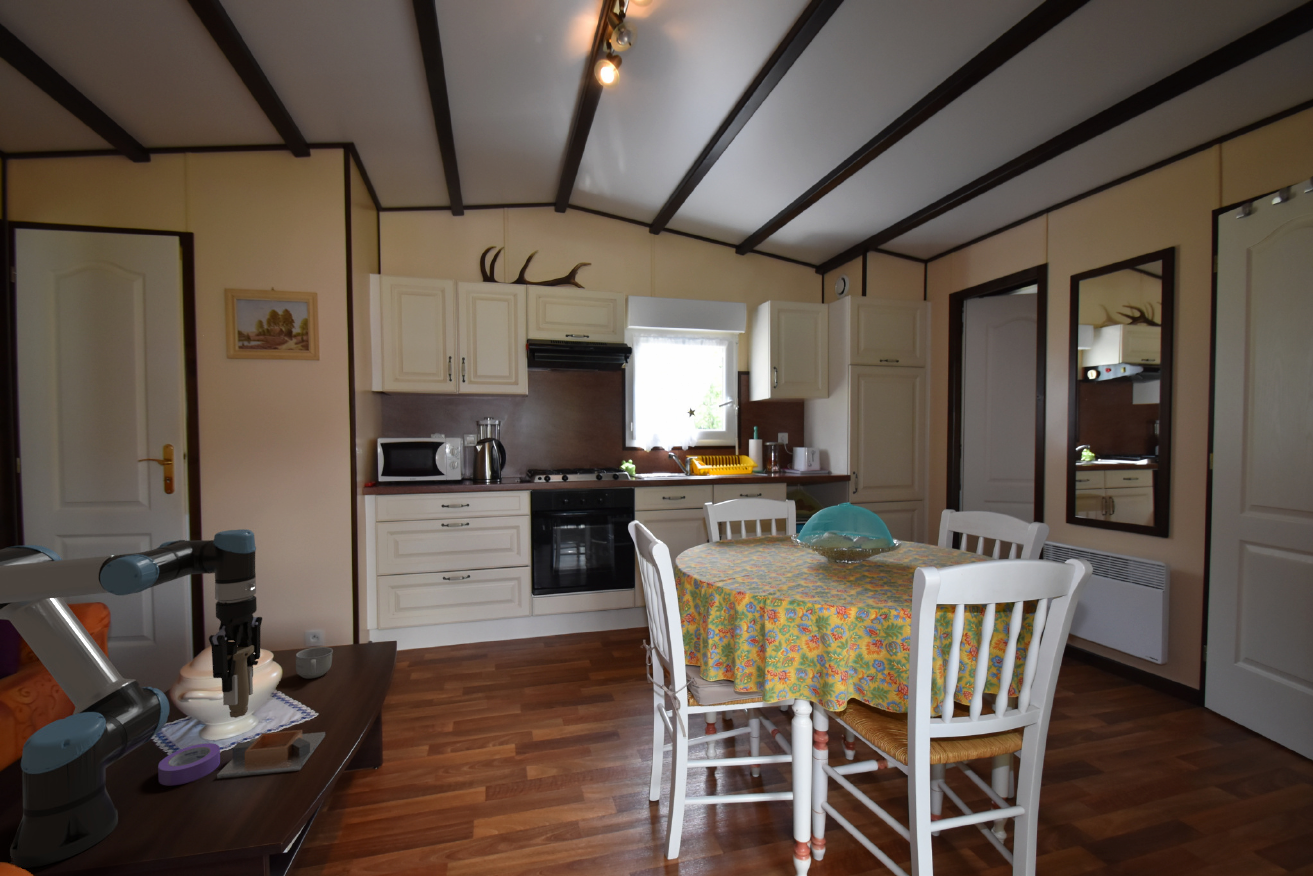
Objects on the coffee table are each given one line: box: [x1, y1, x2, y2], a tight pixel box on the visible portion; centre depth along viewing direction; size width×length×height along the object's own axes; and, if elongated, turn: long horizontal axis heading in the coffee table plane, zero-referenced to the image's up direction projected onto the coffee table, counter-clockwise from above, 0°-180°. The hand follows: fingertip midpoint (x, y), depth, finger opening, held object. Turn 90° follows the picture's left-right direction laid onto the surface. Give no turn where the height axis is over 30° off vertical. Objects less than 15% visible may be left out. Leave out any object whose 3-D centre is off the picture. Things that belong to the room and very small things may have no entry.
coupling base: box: [216, 729, 326, 780], centre depth 144 cm, size 18×16×4 cm
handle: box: [227, 645, 254, 719], centre depth 129 cm, size 5×6×15 cm
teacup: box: [295, 646, 334, 679], centre depth 191 cm, size 14×11×8 cm
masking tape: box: [157, 742, 221, 787], centre depth 138 cm, size 12×12×4 cm
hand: (238, 699), depth 129 cm, fingers closed on handle, 4 cm apart
